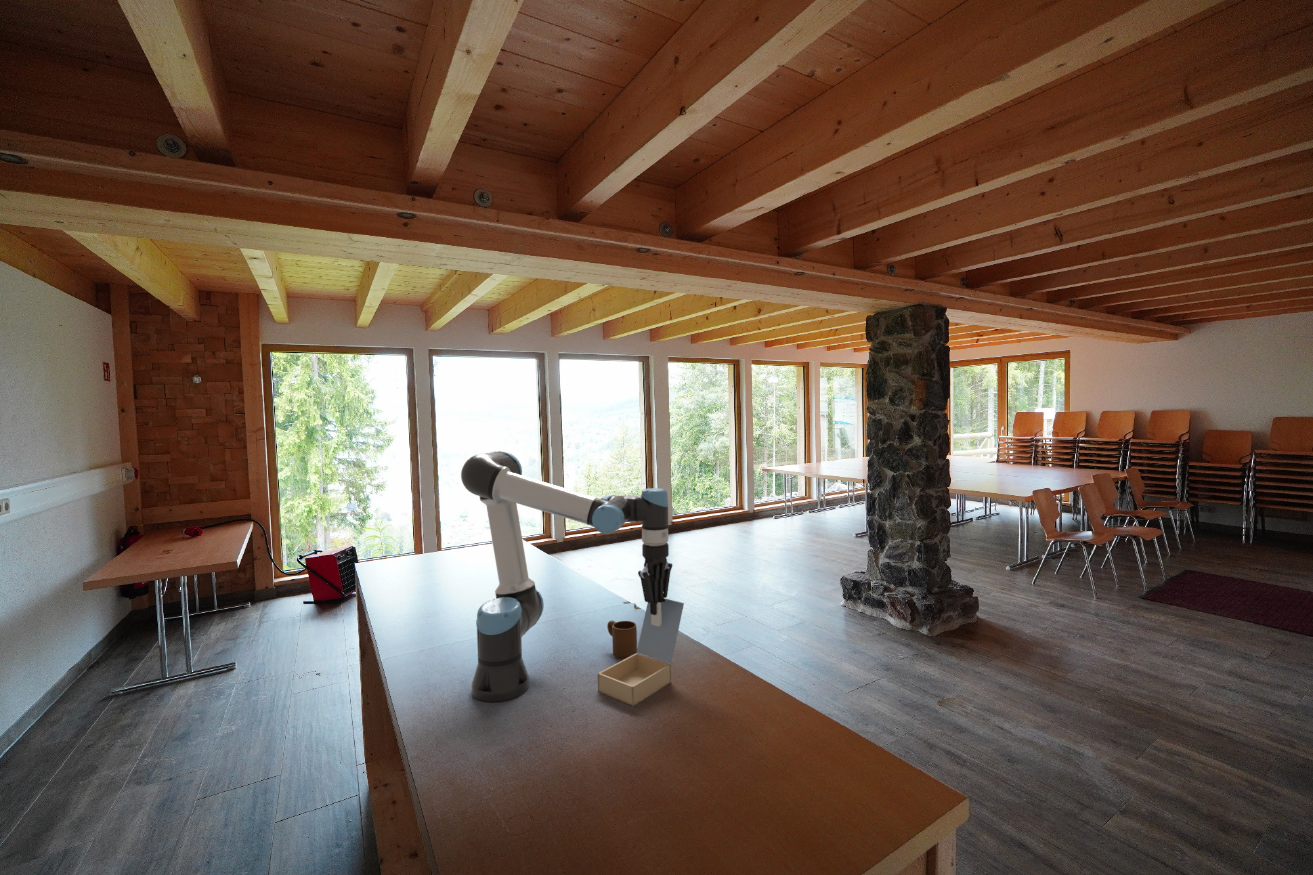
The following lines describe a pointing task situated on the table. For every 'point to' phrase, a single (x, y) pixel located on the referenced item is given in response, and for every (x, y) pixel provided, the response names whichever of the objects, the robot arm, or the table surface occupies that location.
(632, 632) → the mug
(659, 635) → the lid
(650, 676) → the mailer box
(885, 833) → the table surface
